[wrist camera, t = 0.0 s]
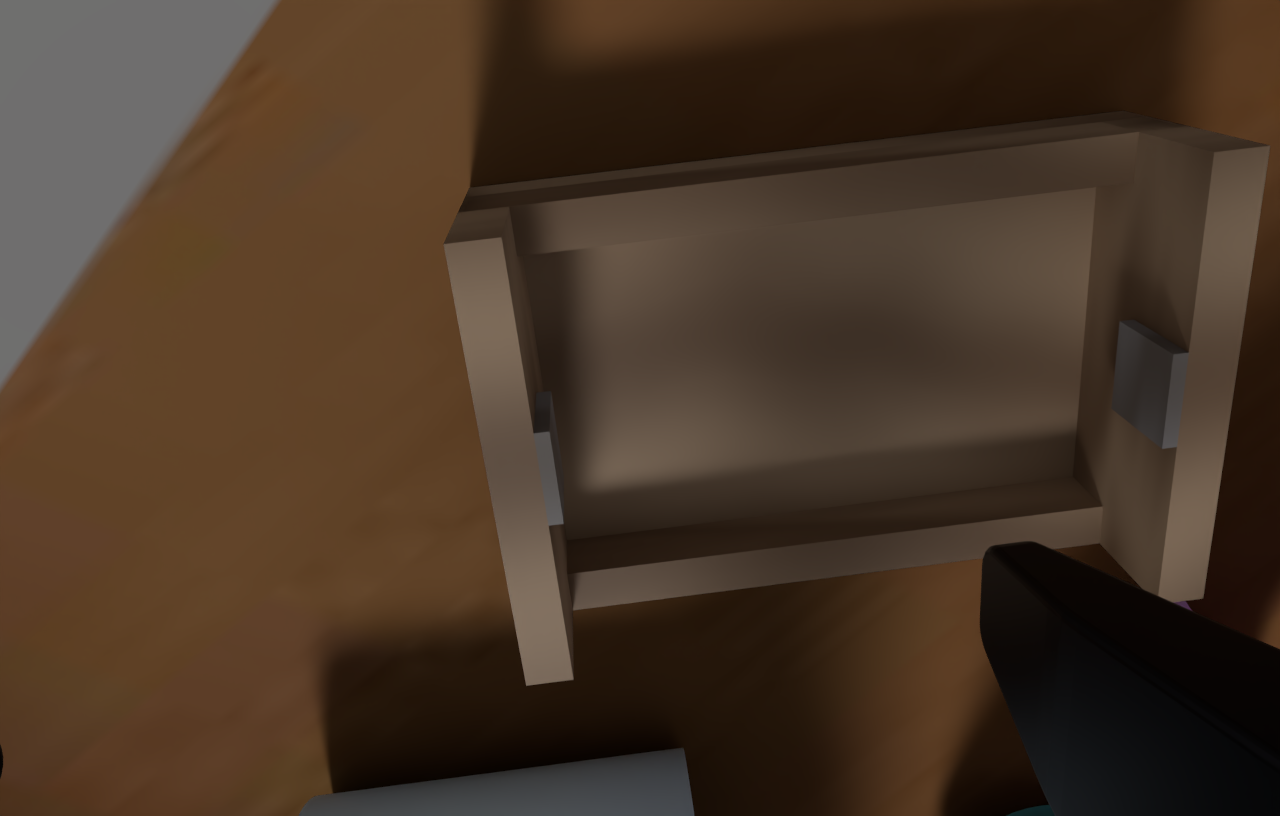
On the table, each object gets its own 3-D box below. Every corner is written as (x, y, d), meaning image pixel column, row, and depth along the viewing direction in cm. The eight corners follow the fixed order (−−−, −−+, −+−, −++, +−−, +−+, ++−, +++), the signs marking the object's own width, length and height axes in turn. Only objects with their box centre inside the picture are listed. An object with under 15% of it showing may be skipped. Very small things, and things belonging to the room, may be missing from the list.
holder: (1090, 488, 26) (1203, 598, 21) (533, 558, 25) (526, 685, 21) (1123, 110, 22) (1270, 145, 17) (469, 187, 22) (443, 243, 17)
